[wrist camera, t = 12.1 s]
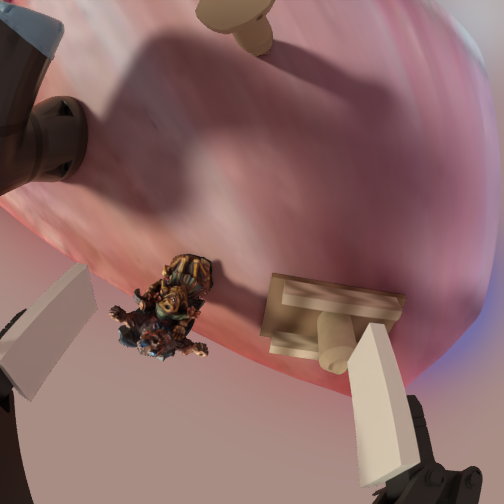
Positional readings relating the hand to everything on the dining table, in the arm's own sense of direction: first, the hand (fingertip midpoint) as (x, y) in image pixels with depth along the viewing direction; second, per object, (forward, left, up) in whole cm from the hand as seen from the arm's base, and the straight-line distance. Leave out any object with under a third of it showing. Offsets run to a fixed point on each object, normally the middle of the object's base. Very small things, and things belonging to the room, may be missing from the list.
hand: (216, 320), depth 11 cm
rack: (+13, -19, -26) cm, 35 cm away
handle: (-4, +18, -26) cm, 32 cm away
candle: (+14, -19, -25) cm, 34 cm away
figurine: (-10, -15, -26) cm, 32 cm away
